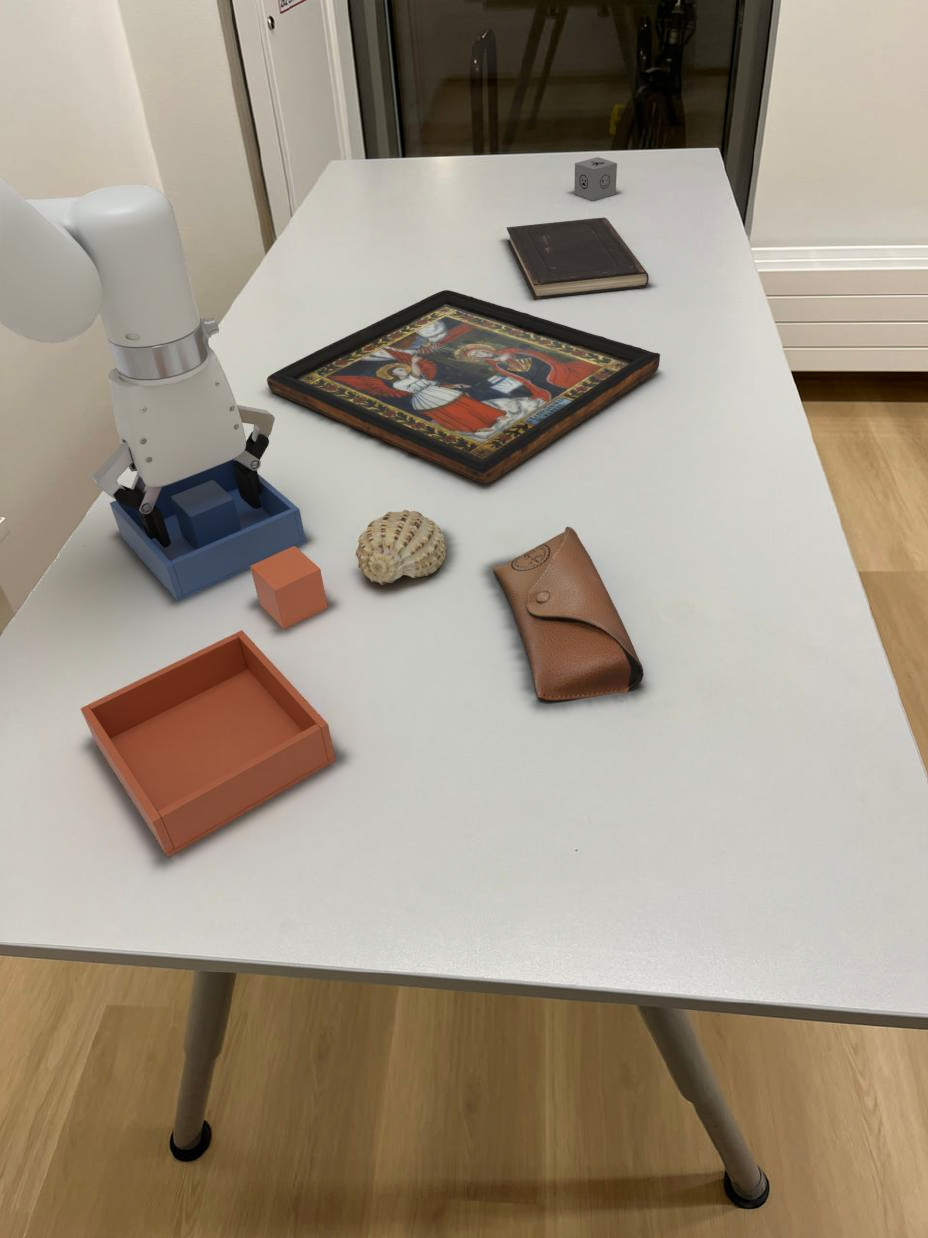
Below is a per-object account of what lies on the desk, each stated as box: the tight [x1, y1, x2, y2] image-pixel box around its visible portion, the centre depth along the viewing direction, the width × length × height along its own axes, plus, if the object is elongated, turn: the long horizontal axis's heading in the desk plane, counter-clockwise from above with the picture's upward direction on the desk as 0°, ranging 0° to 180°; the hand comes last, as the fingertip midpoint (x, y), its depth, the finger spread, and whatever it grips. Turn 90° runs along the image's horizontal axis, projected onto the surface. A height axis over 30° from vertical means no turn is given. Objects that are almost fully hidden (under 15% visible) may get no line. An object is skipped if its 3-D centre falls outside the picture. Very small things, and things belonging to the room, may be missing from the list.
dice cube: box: [573, 156, 618, 202], centre depth 162 cm, size 5×5×5 cm
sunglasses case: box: [492, 526, 644, 702], centre depth 78 cm, size 18×7×7 cm
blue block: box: [171, 480, 241, 550], centre depth 90 cm, size 4×4×4 cm
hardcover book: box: [506, 217, 649, 300], centre depth 139 cm, size 16×23×2 cm
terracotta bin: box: [80, 629, 337, 858], centre depth 69 cm, size 13×13×4 cm
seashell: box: [355, 509, 447, 586], centre depth 86 cm, size 8×6×10 cm
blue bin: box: [109, 459, 307, 602], centre depth 90 cm, size 13×13×4 cm
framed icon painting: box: [266, 289, 661, 485], centre depth 112 cm, size 38×35×3 cm
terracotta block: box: [250, 546, 329, 630], centre depth 82 cm, size 4×4×4 cm
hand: (207, 520), depth 90 cm, fingers open, 8 cm apart
